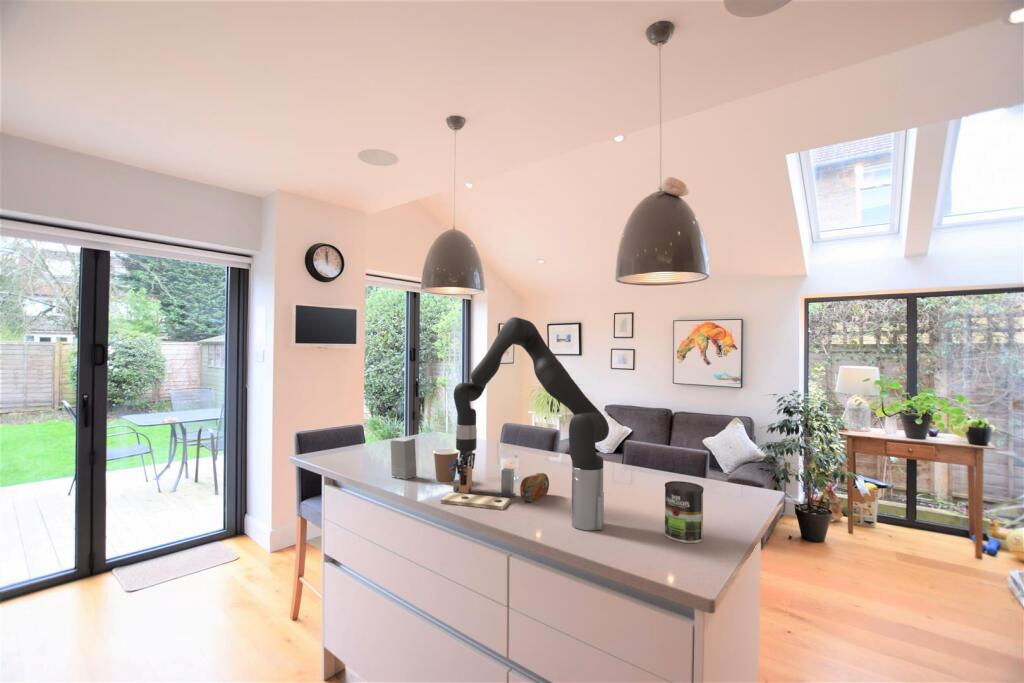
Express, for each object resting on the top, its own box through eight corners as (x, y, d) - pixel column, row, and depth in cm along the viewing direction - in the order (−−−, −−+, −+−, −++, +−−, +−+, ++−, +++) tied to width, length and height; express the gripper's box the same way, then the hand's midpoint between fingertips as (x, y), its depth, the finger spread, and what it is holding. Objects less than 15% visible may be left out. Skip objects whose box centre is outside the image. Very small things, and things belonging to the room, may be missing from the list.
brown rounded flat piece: (525, 504, 156) (526, 479, 157) (518, 503, 158) (518, 478, 158) (549, 495, 168) (550, 471, 168) (542, 493, 170) (542, 470, 170)
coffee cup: (454, 485, 179) (455, 454, 179) (428, 484, 180) (429, 452, 181) (461, 478, 189) (462, 449, 189) (437, 477, 190) (437, 448, 191)
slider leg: (471, 490, 172) (472, 465, 172) (468, 493, 168) (468, 467, 169) (462, 489, 173) (463, 464, 173) (458, 492, 169) (459, 466, 170)
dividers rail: (516, 495, 167) (517, 469, 167) (514, 498, 163) (514, 471, 164) (457, 489, 173) (457, 464, 174) (453, 491, 170) (453, 466, 170)
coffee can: (693, 546, 122) (693, 493, 123) (657, 535, 130) (658, 485, 130) (709, 536, 130) (709, 486, 130) (674, 527, 137) (675, 479, 138)
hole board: (510, 501, 159) (510, 497, 159) (502, 509, 150) (502, 505, 150) (451, 495, 165) (451, 492, 165) (440, 503, 156) (440, 499, 156)
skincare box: (416, 477, 190) (417, 438, 191) (404, 480, 184) (405, 440, 185) (401, 474, 195) (402, 436, 196) (389, 477, 189) (390, 438, 190)
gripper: (468, 440, 163) (467, 489, 163) (482, 434, 177) (481, 479, 176) (449, 439, 165) (448, 487, 165) (464, 433, 179) (463, 478, 178)
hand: (465, 483), depth 171 cm, fingers closed on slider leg, 3 cm apart
